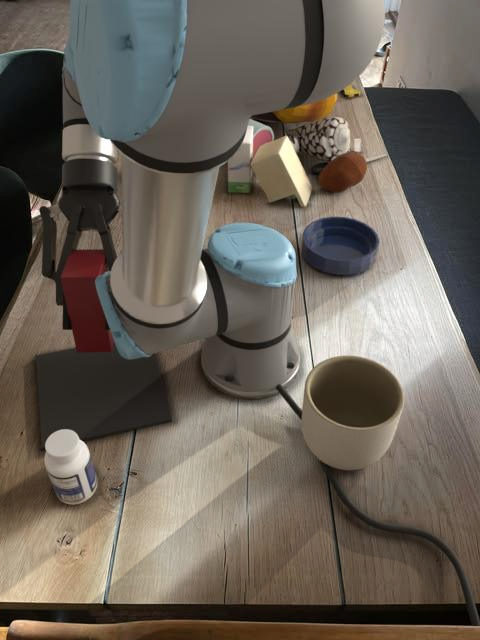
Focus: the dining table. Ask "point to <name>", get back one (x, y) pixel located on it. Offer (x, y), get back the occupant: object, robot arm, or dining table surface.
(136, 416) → the mat
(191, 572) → the dining table surface
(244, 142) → the ink box
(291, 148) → the cream wooden brick
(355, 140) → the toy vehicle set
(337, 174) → the potato
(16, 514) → the dining table surface
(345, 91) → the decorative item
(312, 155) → the seashell
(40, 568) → the dining table surface
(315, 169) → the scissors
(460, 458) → the dining table surface
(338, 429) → the planter
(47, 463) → the pill bottle
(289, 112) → the decorative pumpkin
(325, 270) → the bowl
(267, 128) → the mug
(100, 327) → the case
